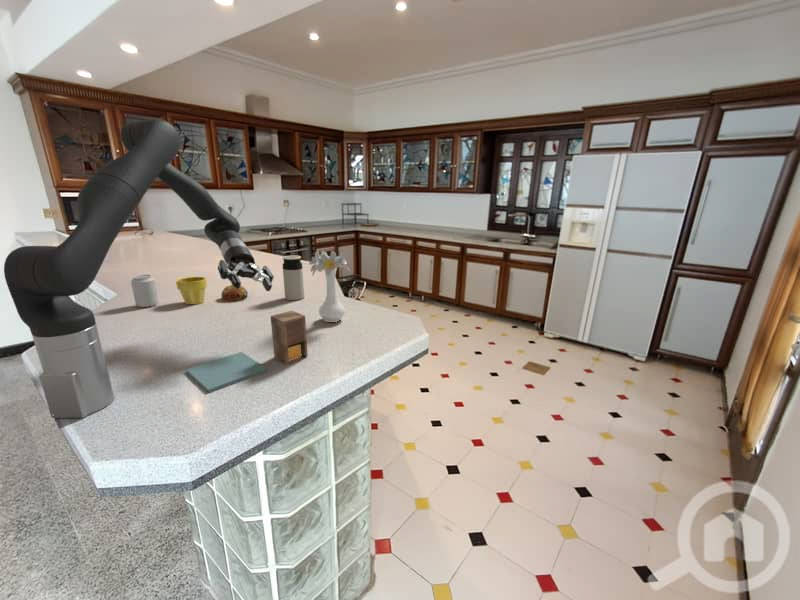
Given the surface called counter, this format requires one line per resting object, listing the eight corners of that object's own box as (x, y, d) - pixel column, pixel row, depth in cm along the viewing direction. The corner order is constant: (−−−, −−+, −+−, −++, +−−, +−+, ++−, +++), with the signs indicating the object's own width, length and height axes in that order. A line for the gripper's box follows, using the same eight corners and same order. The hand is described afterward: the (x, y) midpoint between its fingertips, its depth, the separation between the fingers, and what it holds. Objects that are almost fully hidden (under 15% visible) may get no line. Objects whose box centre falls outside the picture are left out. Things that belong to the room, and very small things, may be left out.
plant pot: (181, 300, 146) (177, 277, 143) (209, 297, 150) (206, 275, 147) (178, 307, 137) (174, 283, 134) (208, 304, 141) (204, 280, 138)
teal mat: (267, 371, 89) (266, 368, 88) (208, 392, 79) (208, 389, 78) (241, 354, 97) (241, 351, 97) (186, 372, 87) (185, 369, 87)
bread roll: (244, 302, 156) (238, 285, 156) (253, 297, 150) (248, 279, 150) (221, 307, 149) (215, 289, 149) (230, 302, 142) (224, 283, 142)
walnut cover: (307, 356, 97) (305, 315, 93) (287, 364, 92) (283, 321, 89) (294, 349, 101) (291, 310, 97) (274, 357, 96) (270, 315, 93)
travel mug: (305, 299, 149) (302, 257, 144) (286, 301, 146) (282, 258, 141) (303, 295, 156) (300, 254, 151) (284, 296, 153) (281, 255, 148)
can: (147, 309, 134) (141, 278, 131) (131, 307, 136) (124, 277, 132) (163, 303, 141) (158, 274, 138) (148, 302, 143) (142, 273, 139)
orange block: (301, 357, 97) (300, 343, 96) (288, 361, 94) (287, 348, 93) (293, 352, 99) (292, 339, 98) (280, 357, 96) (279, 344, 95)
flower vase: (337, 310, 136) (334, 245, 129) (358, 324, 122) (357, 252, 115) (304, 315, 130) (300, 248, 122) (323, 331, 115) (319, 255, 108)
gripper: (215, 240, 99) (231, 273, 89) (264, 248, 109) (283, 279, 100) (208, 262, 101) (223, 296, 92) (256, 268, 112) (274, 299, 103)
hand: (254, 287), depth 96 cm, fingers open, 8 cm apart
